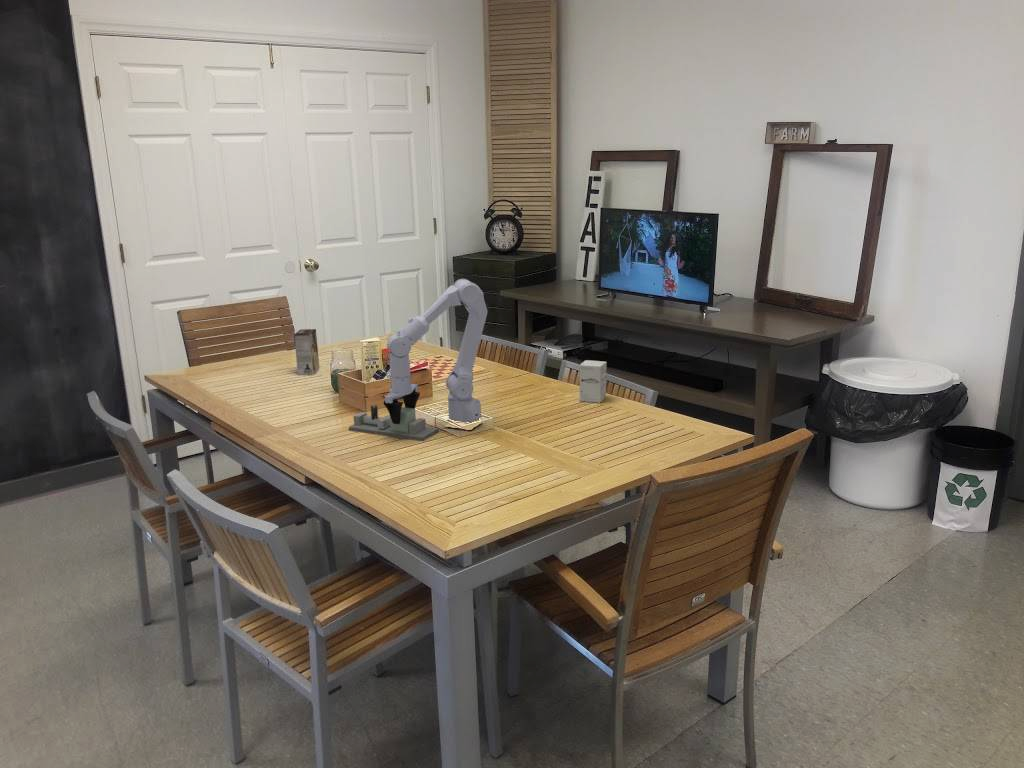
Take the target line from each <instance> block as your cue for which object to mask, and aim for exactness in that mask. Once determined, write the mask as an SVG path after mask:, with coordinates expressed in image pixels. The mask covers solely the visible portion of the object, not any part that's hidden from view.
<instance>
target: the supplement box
mask: <svg viewBox="0 0 1024 768" xmlns="http://www.w3.org/2000/svg"><path fill="white" fill-rule="evenodd" d="M606 390H607V361H603V360H602V361H600V360H590V359H589V360H588V359H586V360H584V361H583V362H581V363H580V364H579V399H578V400H579V402H587V403H596V402H597V403H596V404H601V403H602V402H603V401H604V400H605V399H606V397H605V396H606V395H607V393H606V392H607V391H606ZM604 398H605V399H604ZM603 399H604V400H603ZM602 400H603V401H602ZM601 401H602V402H601ZM600 402H601V403H600Z"/></svg>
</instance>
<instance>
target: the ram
mask: <svg viewBox="0 0 1024 768" xmlns="http://www.w3.org/2000/svg"><path fill="white" fill-rule="evenodd" d="M362 423H369V424H376V425H378V428H379V429H385V428H387V427H388V426H390V425H391V423H390V414H387V415H386V416H384V417H381V416H379V411H378V405H376V404H374V405H370V415H368V414H367V415H365V416H363V417H362Z"/></svg>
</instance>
